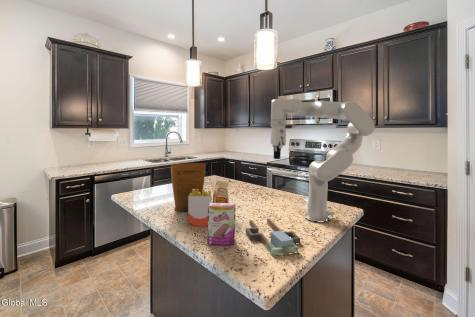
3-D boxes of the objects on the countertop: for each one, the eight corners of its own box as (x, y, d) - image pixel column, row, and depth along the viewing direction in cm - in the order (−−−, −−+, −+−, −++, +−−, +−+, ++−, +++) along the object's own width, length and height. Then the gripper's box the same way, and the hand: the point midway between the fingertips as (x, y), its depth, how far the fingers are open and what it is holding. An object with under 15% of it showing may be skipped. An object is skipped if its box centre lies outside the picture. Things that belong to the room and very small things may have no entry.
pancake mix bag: (205, 212, 137) (205, 163, 134) (170, 212, 135) (170, 163, 132) (205, 208, 144) (205, 162, 141) (172, 209, 142) (172, 161, 139)
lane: (277, 222, 123) (277, 218, 123) (308, 252, 93) (308, 246, 92) (240, 225, 119) (240, 220, 118) (260, 257, 88) (260, 250, 88)
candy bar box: (207, 245, 97) (207, 206, 95) (208, 240, 102) (208, 202, 100) (235, 245, 97) (235, 206, 95) (234, 240, 102) (235, 202, 100)
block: (281, 242, 102) (281, 230, 101) (292, 252, 93) (293, 239, 93) (270, 243, 100) (270, 232, 100) (281, 253, 92) (281, 241, 91)
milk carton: (214, 218, 127) (214, 181, 125) (211, 213, 136) (211, 178, 134) (230, 217, 129) (231, 181, 127) (227, 212, 138) (227, 177, 136)
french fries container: (190, 222, 121) (190, 187, 119) (211, 222, 122) (211, 187, 120) (188, 225, 117) (188, 189, 115) (210, 226, 117) (211, 189, 115)
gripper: (291, 123, 118) (289, 160, 120) (279, 124, 133) (278, 157, 135) (276, 122, 117) (275, 160, 119) (266, 123, 131) (265, 157, 133)
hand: (276, 158), depth 127 cm, fingers closed
